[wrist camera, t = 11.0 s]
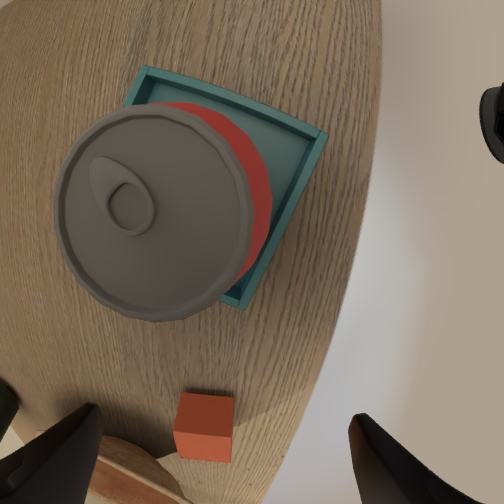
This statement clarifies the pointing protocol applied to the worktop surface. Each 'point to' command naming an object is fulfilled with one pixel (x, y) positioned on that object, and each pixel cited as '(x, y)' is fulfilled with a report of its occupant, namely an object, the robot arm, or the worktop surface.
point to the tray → (265, 141)
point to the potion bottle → (6, 409)
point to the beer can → (161, 209)
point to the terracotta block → (204, 427)
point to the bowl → (131, 475)
